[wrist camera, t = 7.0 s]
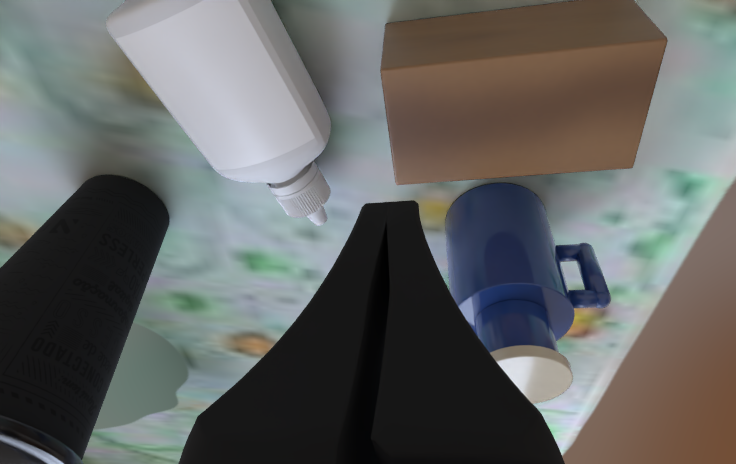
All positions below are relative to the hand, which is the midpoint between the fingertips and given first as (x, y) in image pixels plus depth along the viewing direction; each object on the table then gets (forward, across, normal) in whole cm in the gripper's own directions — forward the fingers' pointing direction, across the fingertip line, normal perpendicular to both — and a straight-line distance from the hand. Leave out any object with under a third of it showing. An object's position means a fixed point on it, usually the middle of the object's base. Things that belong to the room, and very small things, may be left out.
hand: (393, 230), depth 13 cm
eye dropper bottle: (+9, +8, -4) cm, 12 cm away
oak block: (+10, -4, +1) cm, 11 cm away
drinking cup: (+11, +16, +7) cm, 20 cm away
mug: (+10, -5, +6) cm, 13 cm away
